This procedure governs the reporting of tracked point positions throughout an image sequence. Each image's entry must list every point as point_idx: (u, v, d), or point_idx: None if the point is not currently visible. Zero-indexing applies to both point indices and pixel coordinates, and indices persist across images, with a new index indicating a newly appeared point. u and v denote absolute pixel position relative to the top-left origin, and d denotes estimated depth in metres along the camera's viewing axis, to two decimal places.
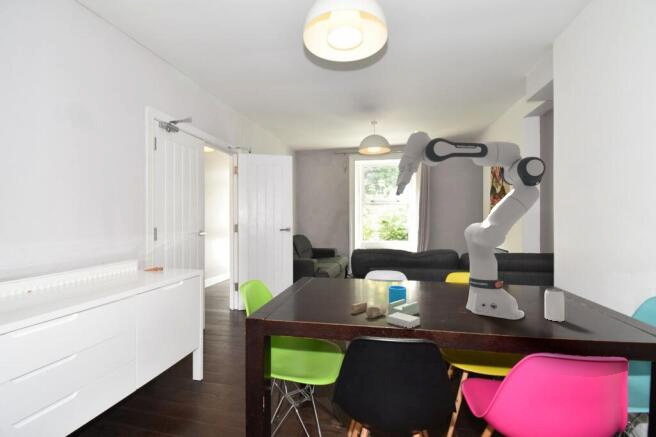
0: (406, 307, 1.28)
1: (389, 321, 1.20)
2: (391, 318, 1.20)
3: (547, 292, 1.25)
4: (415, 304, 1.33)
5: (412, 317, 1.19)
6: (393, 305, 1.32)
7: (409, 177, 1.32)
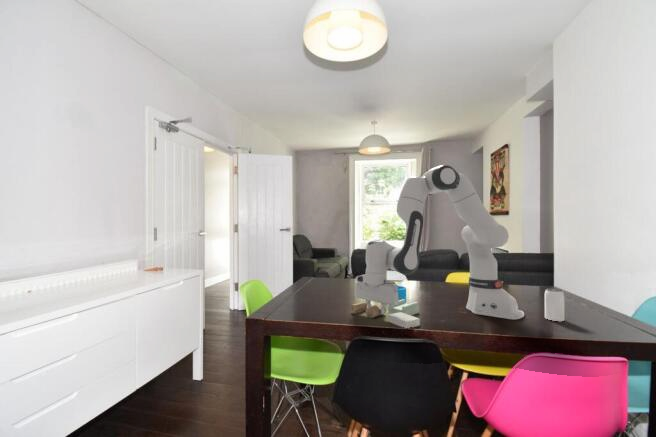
0: (406, 307, 1.28)
1: (389, 320, 1.21)
2: (391, 317, 1.21)
3: (547, 292, 1.25)
4: (415, 304, 1.33)
5: (412, 318, 1.18)
6: None
7: (397, 299, 1.23)
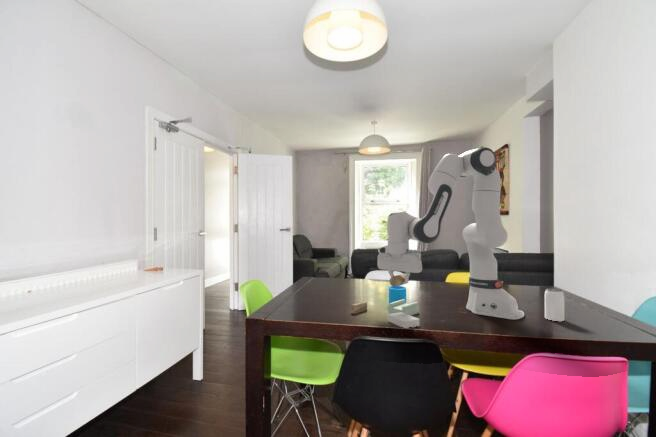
0: (406, 307, 1.28)
1: (389, 320, 1.22)
2: (391, 317, 1.21)
3: (547, 292, 1.25)
4: (415, 304, 1.33)
5: (411, 318, 1.18)
6: (393, 305, 1.32)
7: (421, 266, 1.26)
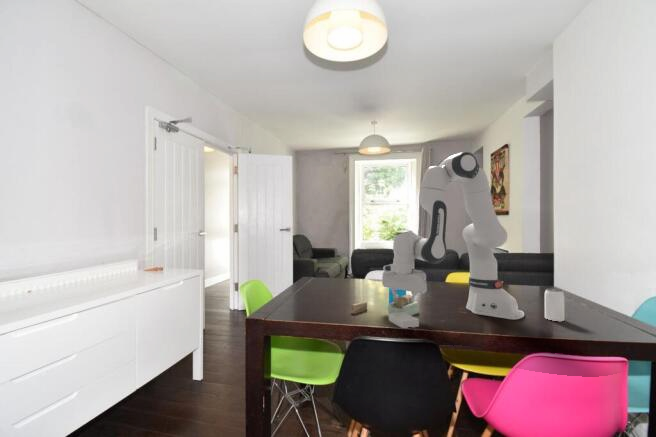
0: (406, 307, 1.28)
1: (390, 319, 1.22)
2: (391, 316, 1.21)
3: (547, 292, 1.25)
4: (415, 304, 1.33)
5: (411, 318, 1.18)
6: (393, 305, 1.32)
7: (426, 287, 1.26)
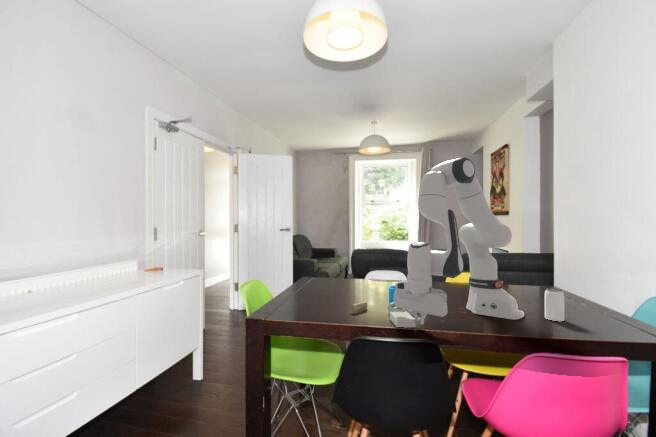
0: None
1: (390, 317, 1.24)
2: (391, 314, 1.23)
3: (547, 292, 1.25)
4: None
5: (408, 317, 1.17)
6: (393, 305, 1.32)
7: (446, 309, 1.09)
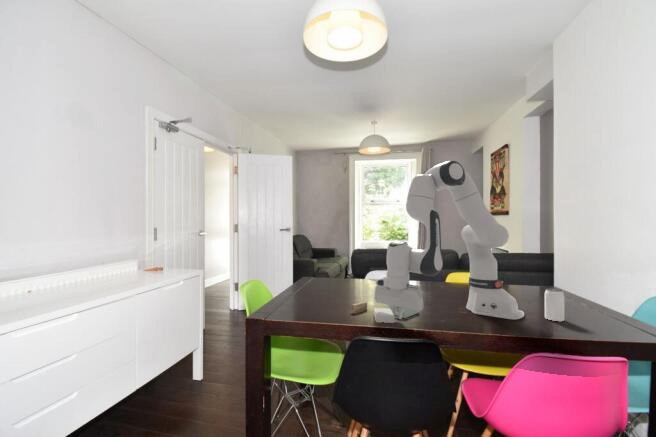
0: None
1: None
2: (374, 310, 1.29)
3: (547, 292, 1.25)
4: None
5: (388, 314, 1.23)
6: None
7: (422, 304, 1.15)
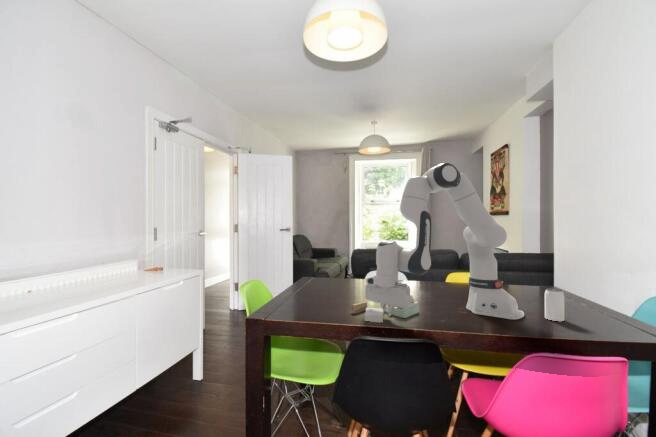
0: None
1: None
2: (366, 310, 1.30)
3: (547, 292, 1.25)
4: (415, 304, 1.33)
5: (378, 313, 1.23)
6: None
7: (410, 301, 1.19)
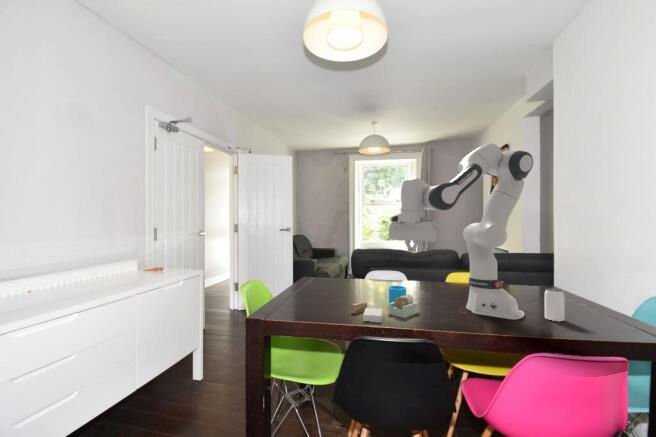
0: (406, 307, 1.28)
1: None
2: (365, 310, 1.30)
3: (547, 292, 1.25)
4: (415, 304, 1.33)
5: (376, 314, 1.23)
6: (393, 305, 1.32)
7: (436, 235, 1.20)
